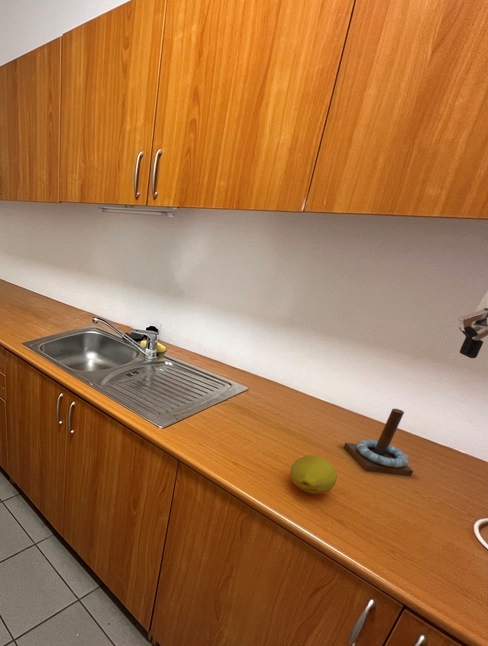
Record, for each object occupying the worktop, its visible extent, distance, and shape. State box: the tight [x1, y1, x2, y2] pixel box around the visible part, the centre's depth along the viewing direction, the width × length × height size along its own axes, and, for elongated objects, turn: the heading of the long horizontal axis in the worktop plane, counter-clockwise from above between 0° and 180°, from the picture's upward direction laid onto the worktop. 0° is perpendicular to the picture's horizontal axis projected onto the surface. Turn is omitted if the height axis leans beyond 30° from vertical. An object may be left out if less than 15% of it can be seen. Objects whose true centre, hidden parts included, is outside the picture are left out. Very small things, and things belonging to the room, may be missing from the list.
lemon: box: [289, 454, 338, 495], centre depth 87 cm, size 11×8×8 cm
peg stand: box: [343, 408, 414, 477], centre depth 94 cm, size 9×9×14 cm
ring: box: [356, 439, 410, 468], centre depth 96 cm, size 9×9×2 cm
